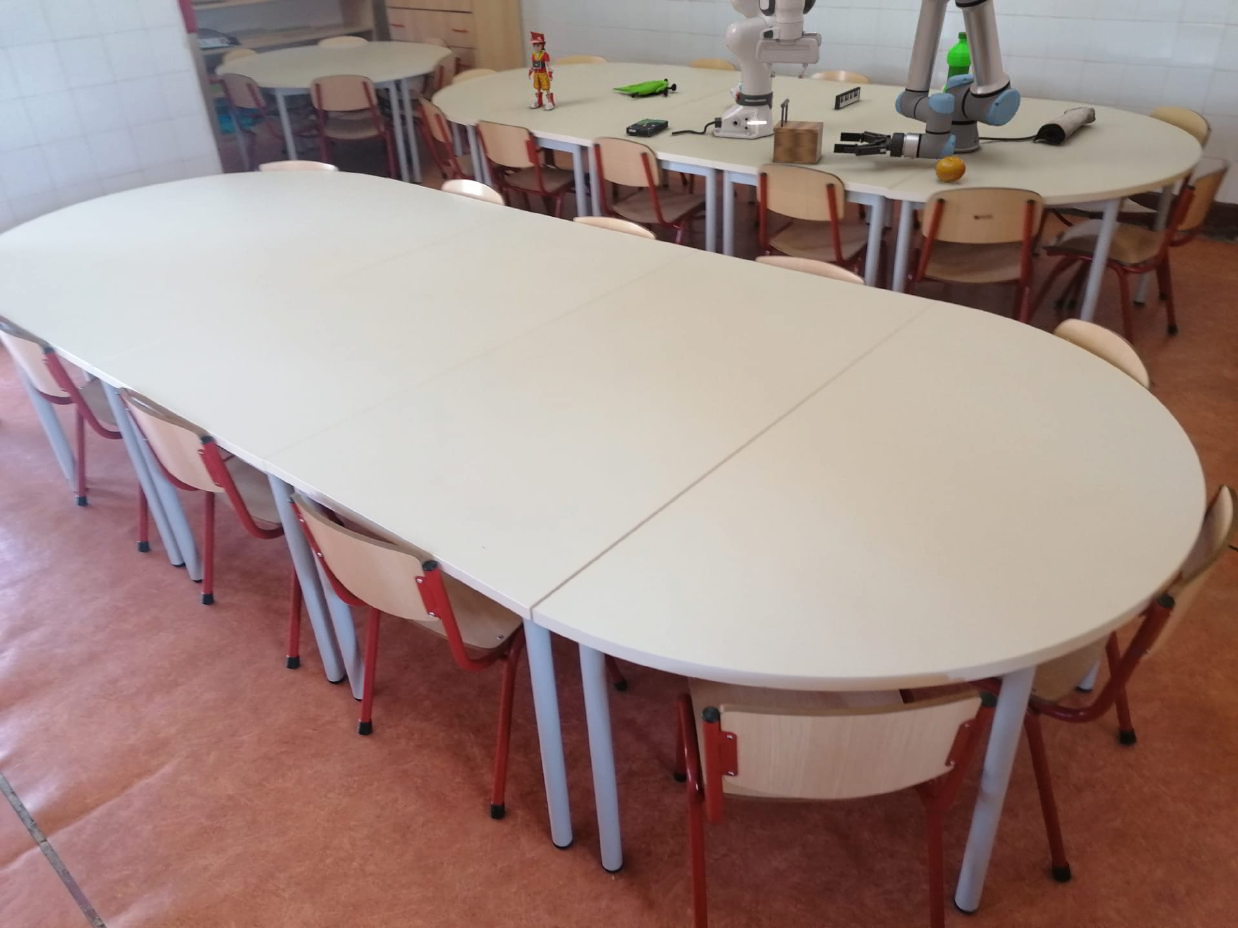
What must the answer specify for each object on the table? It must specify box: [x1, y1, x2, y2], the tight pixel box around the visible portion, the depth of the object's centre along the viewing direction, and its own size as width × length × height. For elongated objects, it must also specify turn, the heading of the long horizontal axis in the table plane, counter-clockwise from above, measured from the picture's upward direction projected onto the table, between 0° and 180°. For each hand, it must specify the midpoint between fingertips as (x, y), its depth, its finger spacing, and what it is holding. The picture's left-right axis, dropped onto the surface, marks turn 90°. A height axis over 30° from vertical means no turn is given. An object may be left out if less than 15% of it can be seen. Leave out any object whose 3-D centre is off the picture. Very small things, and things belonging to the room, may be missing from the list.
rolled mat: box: [1032, 106, 1097, 146], centre depth 310 cm, size 30×9×10 cm
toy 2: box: [612, 78, 677, 99], centre depth 396 cm, size 28×5×30 cm
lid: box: [773, 98, 825, 133], centre depth 296 cm, size 15×10×9 cm, turn 69°
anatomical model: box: [729, 81, 742, 102], centre depth 363 cm, size 15×10×10 cm
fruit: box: [935, 155, 967, 183], centre depth 275 cm, size 8×8×8 cm
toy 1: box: [527, 31, 556, 111], centre depth 374 cm, size 12×9×30 cm
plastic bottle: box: [942, 31, 971, 93], centre depth 348 cm, size 10×10×25 cm
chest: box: [772, 126, 824, 165], centre depth 301 cm, size 14×10×10 cm, turn 69°
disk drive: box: [625, 118, 669, 137], centre depth 342 cm, size 10×3×15 cm
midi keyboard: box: [834, 86, 861, 110], centre depth 359 cm, size 18×1×5 cm, turn 138°
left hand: (786, 78), depth 291 cm, fingers open, 8 cm apart
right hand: (837, 142), depth 295 cm, fingers open, 13 cm apart
